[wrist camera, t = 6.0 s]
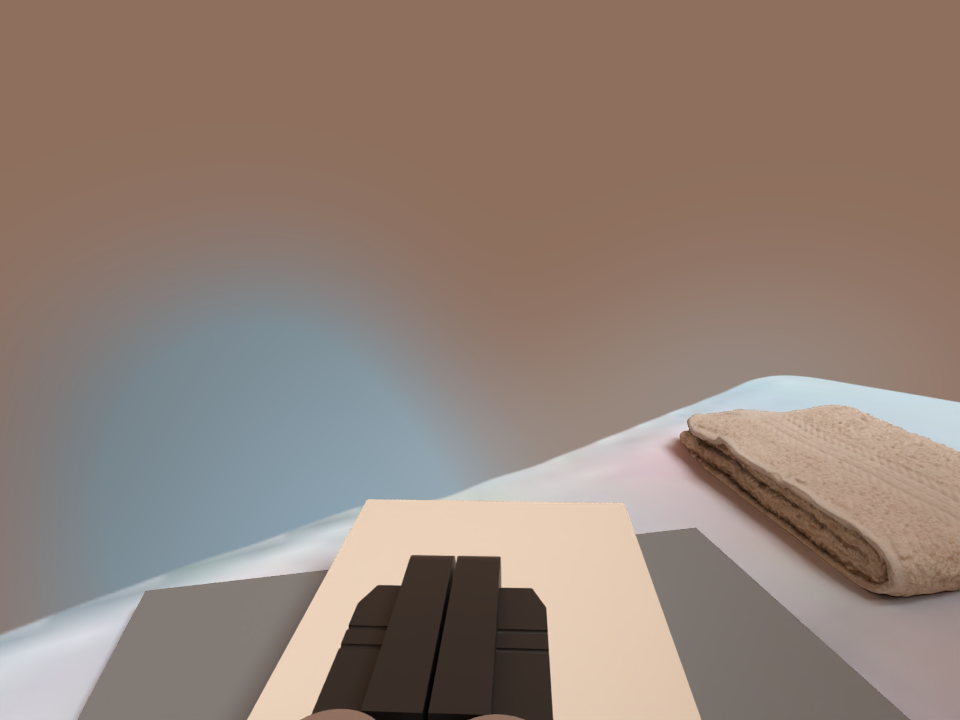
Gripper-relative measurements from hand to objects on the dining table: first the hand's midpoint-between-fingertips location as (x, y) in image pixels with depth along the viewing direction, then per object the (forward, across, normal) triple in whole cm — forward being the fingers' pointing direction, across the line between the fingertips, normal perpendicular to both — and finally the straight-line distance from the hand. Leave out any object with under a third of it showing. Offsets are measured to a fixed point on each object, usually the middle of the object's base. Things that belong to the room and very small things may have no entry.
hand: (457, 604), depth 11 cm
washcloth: (+22, -18, +9) cm, 30 cm away
